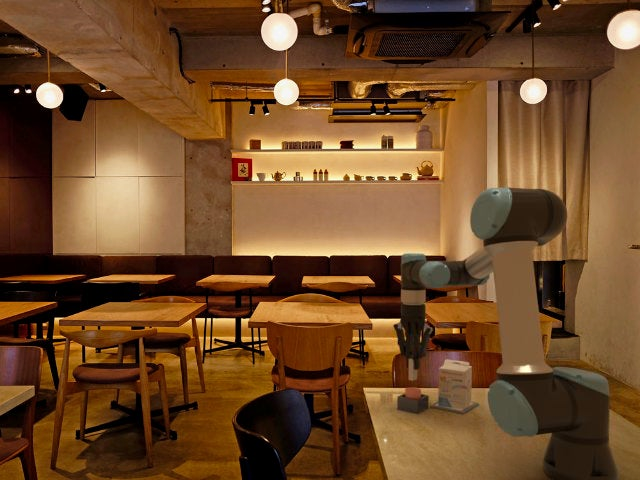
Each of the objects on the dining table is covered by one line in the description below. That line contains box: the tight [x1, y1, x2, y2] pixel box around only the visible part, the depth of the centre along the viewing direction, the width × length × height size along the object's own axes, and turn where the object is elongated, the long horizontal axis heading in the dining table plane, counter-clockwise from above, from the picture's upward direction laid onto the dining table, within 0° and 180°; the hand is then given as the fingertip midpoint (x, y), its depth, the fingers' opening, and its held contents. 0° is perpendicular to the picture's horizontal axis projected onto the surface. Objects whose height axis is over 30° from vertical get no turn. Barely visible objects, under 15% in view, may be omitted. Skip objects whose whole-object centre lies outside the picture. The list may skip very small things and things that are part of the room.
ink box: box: [437, 358, 473, 409], centre depth 169 cm, size 9×8×13 cm
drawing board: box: [429, 401, 480, 416], centre depth 169 cm, size 12×11×1 cm
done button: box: [404, 386, 422, 400], centre depth 166 cm, size 5×5×4 cm
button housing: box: [396, 392, 430, 415], centre depth 166 cm, size 7×7×4 cm
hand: (412, 379), depth 166 cm, fingers closed
